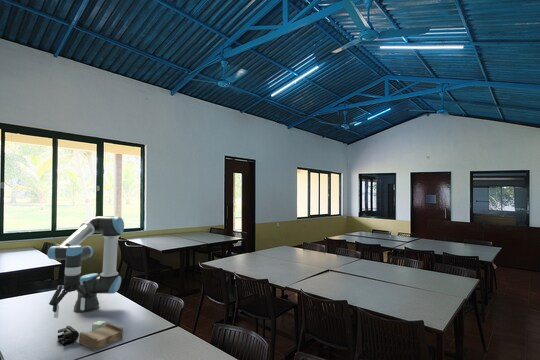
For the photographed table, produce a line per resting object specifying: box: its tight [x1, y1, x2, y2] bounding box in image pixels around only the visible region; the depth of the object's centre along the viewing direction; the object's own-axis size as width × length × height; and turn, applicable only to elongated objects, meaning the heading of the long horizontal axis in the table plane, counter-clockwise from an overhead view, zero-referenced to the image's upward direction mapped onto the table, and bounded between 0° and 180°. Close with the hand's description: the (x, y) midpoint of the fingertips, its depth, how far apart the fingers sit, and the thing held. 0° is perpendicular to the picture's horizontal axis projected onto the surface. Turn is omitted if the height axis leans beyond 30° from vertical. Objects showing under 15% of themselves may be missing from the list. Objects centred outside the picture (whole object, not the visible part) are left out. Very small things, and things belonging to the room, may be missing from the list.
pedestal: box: [78, 322, 124, 351], centre depth 166 cm, size 16×14×5 cm
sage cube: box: [91, 320, 107, 331], centre depth 177 cm, size 5×5×5 cm
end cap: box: [57, 325, 80, 347], centre depth 164 cm, size 10×7×7 cm
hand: (69, 313), depth 164 cm, fingers open, 13 cm apart
